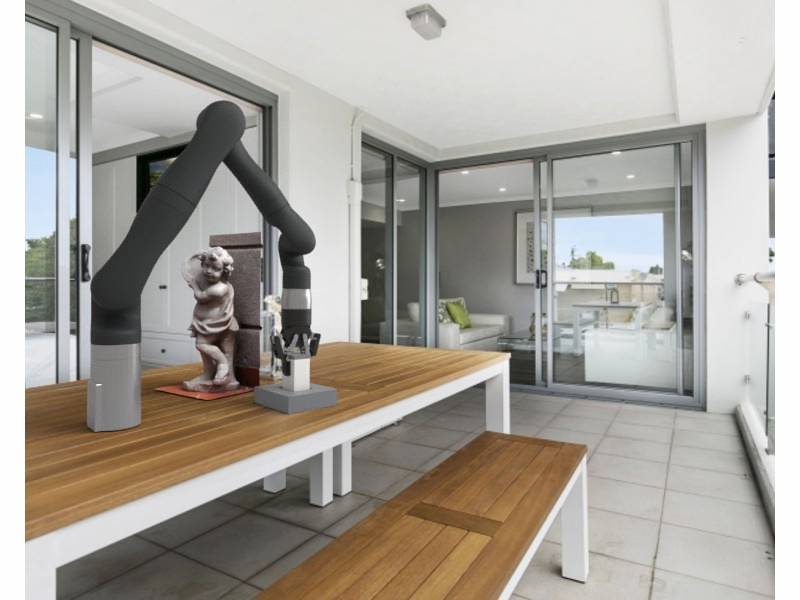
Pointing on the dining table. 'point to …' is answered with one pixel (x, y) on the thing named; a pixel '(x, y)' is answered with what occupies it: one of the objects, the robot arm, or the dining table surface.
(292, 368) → the plug
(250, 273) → the cherub statue
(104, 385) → the robot arm
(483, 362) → the dining table surface
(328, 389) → the grey square socket
